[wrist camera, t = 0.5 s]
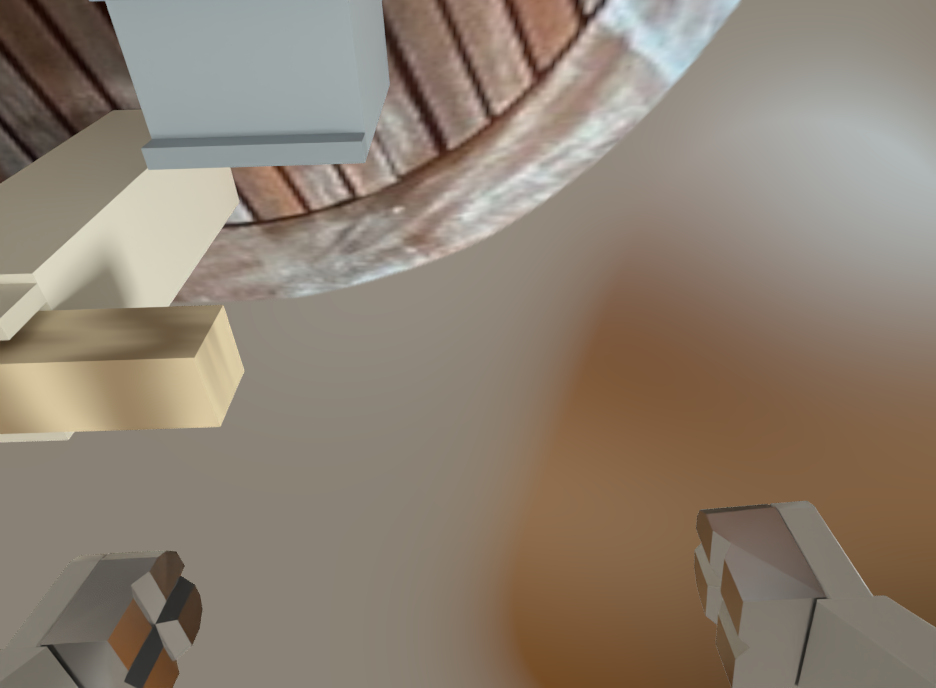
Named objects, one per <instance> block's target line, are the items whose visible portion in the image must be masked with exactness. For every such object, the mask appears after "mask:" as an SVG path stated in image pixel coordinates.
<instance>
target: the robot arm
mask: <svg viewBox="0 0 936 688" xmlns="http://www.w3.org/2000/svg"><path fill="white" fill-rule="evenodd" d="M696 530H697V533H698V535H699V538H700V540H701V544H700V545H699V546H698V547H697V548H696V549H695V553H694V555H695V556H694V569H695V577H696V584H697V589H698V593H699V596H700V600H701V603H702V606H703V609H704V612H705V615H706V616H707V617H708V618H709V619H711V620H712V621H713V622H714V623H715V624H717V633H716V647H717V649H718V652H719V655H720V658H721V660H722V663H723V666H724V669H725V671H726V674H727V677H728V680H729V682H730V685H731V688H936V628H935V627H934V626H932V625H931V624H929V623H927V622H926V621H924V620H923V619H921V618H920V617H918V616H916V615H915V614H913V613H912V612H910V611H908V610H907V609H905V608H904V607H902V606H901V605H899V604H897V603H896V602H894V601H893V600H891V599H890V598H888V597H886V596H873V595H872V593H871V592H870V590H869V589H868V588H867V586H866V584H865V583H864V581H863V580H862V578H861V577H860V575H859V574H858V572H857V570H856V569H855V568H854V566H853V564H852V563H851V561H850V560H849V558H848V557H847V556H846V554H845V552H844V551H843V549H842V548H841V546H840V545H839V543H838V542H837V540H836V538H835V537H834V536H833V534H832V532H831V531H830V529H829V528H828V526H827V525H826V523H825V522H824V520H823V519H822V517H821V516H820V514H819V512H818V511H817V509H816V508H815V506H814V505H812V504H811V503H809V502H808V501H798V502H787V503H774V504H770V505H768V504H761V505H749V506H738V507H726V508H714V509H703V510H699V513H698V515H697V523H696ZM184 567H185V565H184V563H183V562H182V560H181V558H180V557H179V555H178V554H177V552H176V551H147V552H128V553H110V554H95V555H81V556H79V557H78V558H76V559H74V560H73V561H71V562H69V564H68V565H67V567H66V568H65V569H64V570H63V572H62V573H61V574H60V576H59V577H58V578H57V580H56V581H55V582H54V584H53V585H52V586H51V588H50V589H49V590H48V592H47V593H46V594H45V596H44V597H43V598H42V600H41V601H40V602H39V604H38V605H37V606H36V608H35V609H34V610H33V612H32V613H31V614H30V615H29V617H28V618H27V619H26V621H25V622H24V623H23V625H22V626H21V627H20V629H19V630H18V631H17V633H16V634H15V635H14V637H13V638H12V639H11V641H10V642H9V643H8V645H7V646H6V647H5V648H4V649H0V688H173V686H174V684H175V681H176V680H177V678H178V675H179V669H178V665H177V659H178V658H179V657H180V656H181V655H183V654H184V653H185V652H186V651H187V650H188V649H189V648H190V647H191V646H192V645H193V643H194V640H195V638H196V636H197V633H198V631H199V629H200V623H201V616H202V603H201V597H200V594H199V592H198V590H197V588H196V586H195V584H193V583H191V582H190V581H188V580H187V579H185V578H184V577H182V576H181V574H182V571H183V569H184Z"/></svg>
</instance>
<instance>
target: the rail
mask: <svg viewBox="0 0 936 688" xmlns="http://www.w3.org/2000/svg"><path fill="white" fill-rule="evenodd" d="M243 373H244V368H243V365H242V362H241V359H240V356H239V352H238V350H237V346H236V343H235V340H234V337H233V334H232V330H231V327H230V325H229V321H228V318H227V315H226V312H225V309H224V305H205V306H175V307H144V308H113V309H83V310H52V311H37V312H36V313H35V314H34V315H33V316H32V317H31V318H30V320H29V321H28V322H27V323H26V324H25V325H24V326H23V327H22V328H21V329H20V330H19V331H18V332H17V333H16V334H15V335H14V336H13V337H12V338H11V339H10V340H0V434H18V433H48V432H75V431H107V430H138V429H168V428H198V427H220V426H221V424H222V421H223V419H224V417H225V415H226V412H227V410H228V408H229V405H230V403H231V401H232V399H233V396H234V394H235V391H236V389H237V387H238V385H239V382H240V380H241V378H242V375H243Z"/></svg>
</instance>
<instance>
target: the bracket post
mask: <svg viewBox="0 0 936 688" xmlns="http://www.w3.org/2000/svg"><path fill="white" fill-rule="evenodd" d="M150 140H152V138H151V135H150V132H149V129H148V127H147V124H146V121H145V118H144V115H143V112H142V109H140V110H113V111H111V112H110V113H108V114H107V115H105V116H103V117H102V118H100V119H99V120H97V121H96V122H94V123H93V124H91V125H90V126H88V127H87V128H85V129H83V130H82V131H80V132H79V133H77V134H76V135H74V136H73V137H71V138H70V139H68V140H67V141H65V142H63V143H62V144H60V145H59V146H57V147H56V148H54V149H53V150H51V151H50V152H48V153H47V154H45V155H44V156H42V157H40V158H39V159H37V160H36V161H34V162H33V163H31V164H30V165H28V166H27V167H25V168H24V169H22V170H20V171H19V172H17V173H16V174H14V175H13V176H11V177H10V178H8V179H7V180H5V181H4V182H2V183H0V340H10V339H11V338H12V337H13V336H14V335H15V334H16V333H17V332H18V331H19V330H20V329H21V328H22V327H23V326H24V325H25V324H26V323H27V322H28V321H29V320H30V318H31V317H32V316H33V315H34V314H35V313H36V312H37V311H52V310H83V309H113V308H144V307H169V305H170V304H171V302H172V301H173V299H174V298H175V296H176V295H177V293H178V292H179V290H180V289H181V288H182V286H183V285H184V283H185V282H186V280H187V279H188V277H189V276H190V274H191V273H192V271H193V270H194V268H195V267H196V265H197V264H198V262H199V261H200V260H201V258H202V257H203V255H204V254H205V252H206V251H207V249H208V248H209V246H210V245H211V243H212V242H213V240H214V239H215V237H216V236H217V234H218V233H219V232H220V230H221V229H222V227H223V226H224V224H225V223H226V221H227V220H228V218H229V217H230V215H231V214H232V212H233V211H234V209H235V208H236V206H237V205H238V204H239V198H238V195H237V191H236V187H235V184H234V180H233V176H232V172H231V169H230V167H224V168H193V169H162V170H148V167H147V164H146V162H145V159H144V156H143V153H142V150H141V148H142V147H143V146H144V145H146V144H147V143H148V142H149V141H150ZM73 433H74V432H48V433H18V434H0V442H24V441H52V440H69V439H70V437H71V436H72V435H73Z"/></svg>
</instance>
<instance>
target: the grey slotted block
mask: <svg viewBox="0 0 936 688" xmlns="http://www.w3.org/2000/svg"><path fill="white" fill-rule="evenodd" d="M89 1H105V2H106V5H107V8H108V11H109V14H110V17H111V20H112V23H113V26H114V29H115V32H116V35H117V38H118V41H119V44H120V47H121V49H122V52H123V55H124V58H125V61H126V64H127V67H128V70H129V73H130V76H131V79H132V82H133V85H134V88H135V91H136V94H137V97H138V100H139V103H140V106H141V109H142V112H143V115H144V118H145V121H146V124H147V127H148V129H149V132H150V135H151V138H152V140H150V141H149V142H148V143H147V144H146V145H144V146H143V147H142V148H141V150H142V153H143V156H144V159H145V162H146V164H147V167H148V170H162V169H193V168H224V167H256V166H287V165H318V164H350V163H365V161H366V158H367V155H368V151H369V148H370V145H371V142H372V139H373V136H374V133H375V129H376V126H377V123H378V120H379V117H380V114H381V110H382V107H383V104H384V101H385V98H386V95H387V91H388V88H389V85H390V82H389V72H388V62H387V51H386V41H385V30H384V20H383V10H382V0H89Z"/></svg>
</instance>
